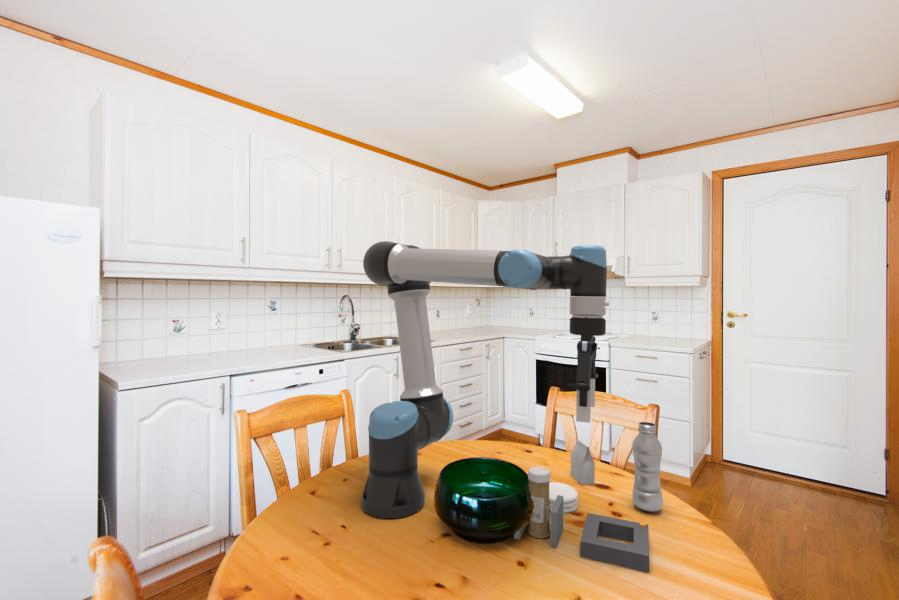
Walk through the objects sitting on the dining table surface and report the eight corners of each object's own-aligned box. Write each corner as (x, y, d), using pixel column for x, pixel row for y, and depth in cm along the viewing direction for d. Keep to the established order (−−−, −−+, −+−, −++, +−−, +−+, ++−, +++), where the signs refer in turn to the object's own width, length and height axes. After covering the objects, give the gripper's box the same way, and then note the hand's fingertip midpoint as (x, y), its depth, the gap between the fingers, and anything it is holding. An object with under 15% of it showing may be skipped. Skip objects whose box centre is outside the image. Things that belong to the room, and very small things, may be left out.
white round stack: (559, 492, 111) (559, 478, 111) (587, 509, 102) (587, 494, 102) (527, 500, 106) (527, 485, 106) (553, 518, 97) (553, 503, 97)
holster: (513, 538, 89) (513, 504, 89) (523, 520, 96) (523, 488, 96) (556, 548, 85) (556, 513, 85) (563, 528, 93) (563, 496, 93)
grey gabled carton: (581, 485, 114) (581, 447, 114) (570, 475, 121) (570, 439, 121) (594, 484, 115) (594, 447, 115) (583, 474, 121) (583, 439, 122)
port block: (580, 556, 82) (580, 539, 82) (587, 526, 93) (587, 510, 93) (649, 572, 78) (649, 554, 78) (648, 539, 89) (648, 522, 89)
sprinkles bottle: (554, 535, 90) (554, 470, 90) (539, 542, 88) (539, 475, 87) (539, 525, 94) (539, 464, 94) (523, 531, 91) (523, 468, 91)
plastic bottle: (650, 518, 97) (650, 429, 97) (625, 505, 103) (625, 422, 103) (669, 512, 100) (669, 425, 100) (644, 500, 106) (644, 418, 106)
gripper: (603, 319, 81) (601, 431, 81) (608, 315, 104) (606, 402, 105) (562, 318, 84) (560, 426, 84) (575, 314, 107) (574, 399, 107)
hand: (586, 413), depth 94 cm, fingers open, 13 cm apart
